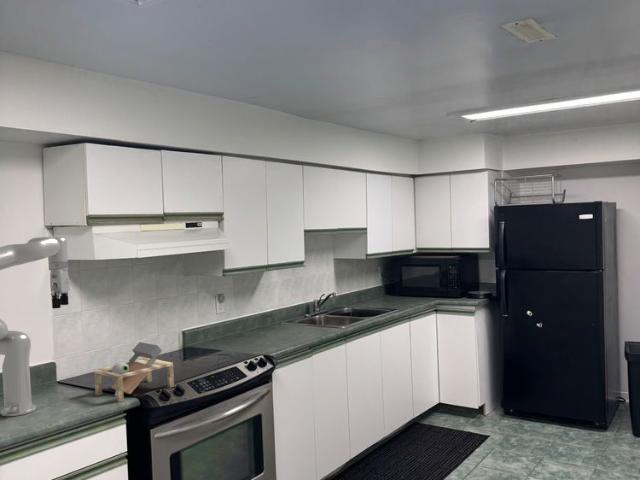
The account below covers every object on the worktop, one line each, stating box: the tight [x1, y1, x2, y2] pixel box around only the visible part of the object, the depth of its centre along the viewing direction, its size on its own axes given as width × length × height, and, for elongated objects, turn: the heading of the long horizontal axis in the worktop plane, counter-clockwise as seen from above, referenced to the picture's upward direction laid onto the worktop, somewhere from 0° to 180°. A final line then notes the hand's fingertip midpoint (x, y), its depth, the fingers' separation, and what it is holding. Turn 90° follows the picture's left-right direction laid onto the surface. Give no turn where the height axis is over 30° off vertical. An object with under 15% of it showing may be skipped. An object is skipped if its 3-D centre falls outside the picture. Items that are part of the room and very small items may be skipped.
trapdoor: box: [110, 341, 163, 395], centre depth 254 cm, size 22×14×6 cm
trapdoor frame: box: [93, 357, 175, 403], centre depth 254 cm, size 26×19×10 cm
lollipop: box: [111, 361, 130, 397], centre depth 251 cm, size 7×7×15 cm
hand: (60, 306), depth 249 cm, fingers open, 9 cm apart
